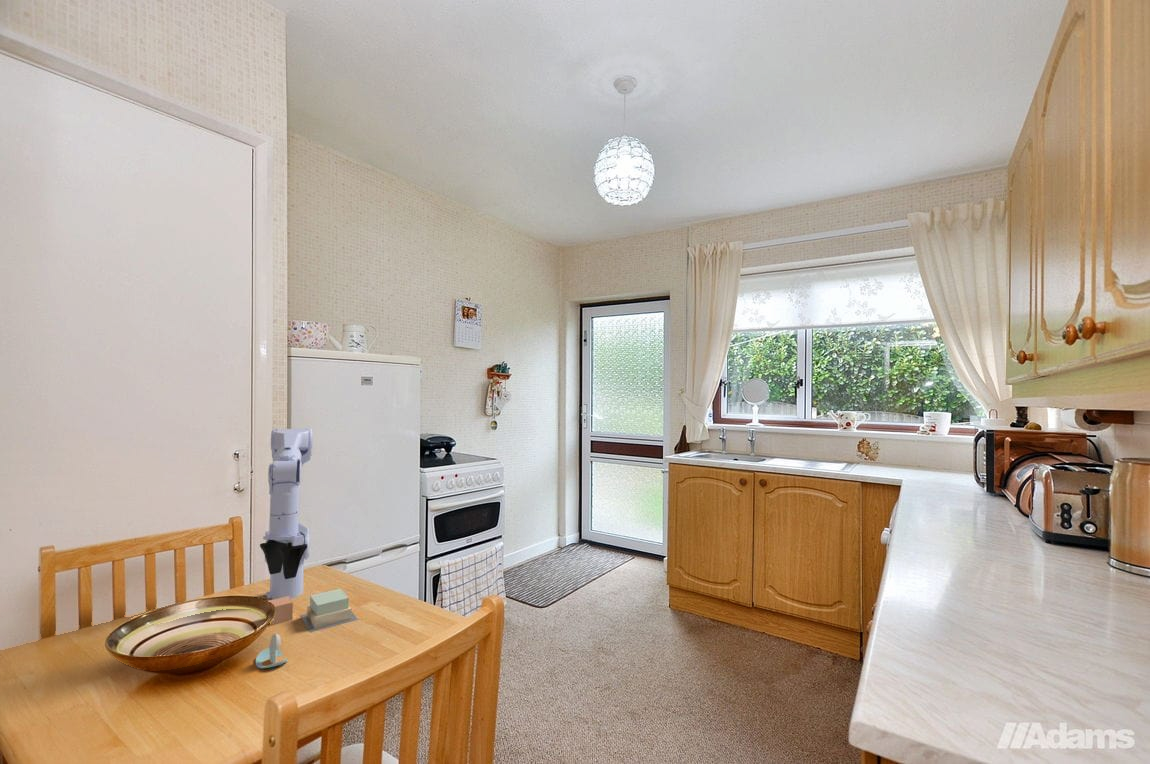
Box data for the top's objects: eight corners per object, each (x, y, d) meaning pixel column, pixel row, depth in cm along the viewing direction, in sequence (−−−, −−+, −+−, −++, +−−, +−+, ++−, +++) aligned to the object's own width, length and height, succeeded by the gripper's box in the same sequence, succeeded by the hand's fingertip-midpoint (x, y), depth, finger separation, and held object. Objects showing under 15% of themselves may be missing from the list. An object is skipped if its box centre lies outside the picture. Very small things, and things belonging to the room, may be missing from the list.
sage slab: (310, 605, 119) (310, 595, 119) (340, 598, 123) (340, 588, 123) (317, 616, 114) (317, 605, 114) (348, 608, 118) (348, 597, 118)
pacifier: (254, 683, 94) (290, 670, 99) (254, 650, 94) (290, 638, 98) (244, 667, 100) (279, 655, 104) (244, 635, 99) (278, 624, 104)
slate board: (299, 619, 119) (300, 615, 119) (345, 608, 125) (345, 604, 125) (310, 636, 111) (310, 632, 111) (358, 623, 117) (358, 619, 117)
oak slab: (306, 615, 119) (307, 605, 119) (341, 607, 124) (341, 597, 124) (314, 628, 113) (315, 617, 113) (351, 618, 118) (351, 608, 118)
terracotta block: (266, 622, 117) (267, 600, 117) (288, 617, 120) (288, 595, 120) (270, 630, 114) (270, 607, 114) (292, 624, 117) (292, 602, 117)
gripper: (251, 514, 117) (249, 575, 116) (279, 518, 109) (277, 584, 107) (284, 510, 123) (282, 568, 122) (313, 513, 114) (311, 576, 113)
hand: (282, 575), depth 115 cm, fingers open, 7 cm apart
